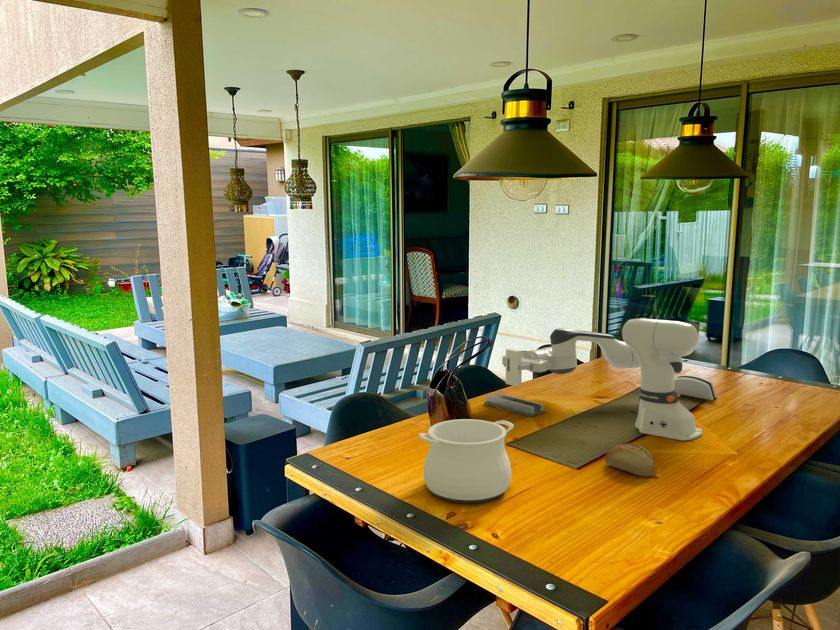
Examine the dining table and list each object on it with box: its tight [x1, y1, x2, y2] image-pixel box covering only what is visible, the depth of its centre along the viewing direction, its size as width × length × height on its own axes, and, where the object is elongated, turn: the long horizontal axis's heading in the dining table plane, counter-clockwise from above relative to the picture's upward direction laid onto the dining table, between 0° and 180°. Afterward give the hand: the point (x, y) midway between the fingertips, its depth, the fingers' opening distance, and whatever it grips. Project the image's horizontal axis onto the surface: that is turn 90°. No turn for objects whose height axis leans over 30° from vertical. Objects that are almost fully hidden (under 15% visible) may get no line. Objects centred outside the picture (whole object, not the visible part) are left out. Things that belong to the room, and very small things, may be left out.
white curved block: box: [674, 374, 718, 401], centre depth 271 cm, size 17×5×10 cm, turn 40°
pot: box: [417, 418, 515, 504], centre depth 180 cm, size 28×24×17 cm
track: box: [483, 392, 546, 418], centre depth 258 cm, size 24×9×4 cm, turn 41°
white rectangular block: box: [505, 348, 523, 387], centre depth 255 cm, size 6×3×14 cm, turn 41°
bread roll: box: [604, 442, 655, 478], centre depth 192 cm, size 10×15×8 cm, turn 45°
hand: (512, 366), depth 255 cm, fingers closed on white rectangular block, 6 cm apart
